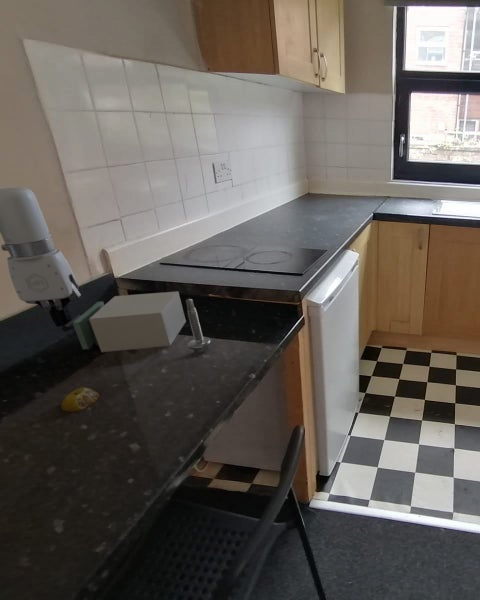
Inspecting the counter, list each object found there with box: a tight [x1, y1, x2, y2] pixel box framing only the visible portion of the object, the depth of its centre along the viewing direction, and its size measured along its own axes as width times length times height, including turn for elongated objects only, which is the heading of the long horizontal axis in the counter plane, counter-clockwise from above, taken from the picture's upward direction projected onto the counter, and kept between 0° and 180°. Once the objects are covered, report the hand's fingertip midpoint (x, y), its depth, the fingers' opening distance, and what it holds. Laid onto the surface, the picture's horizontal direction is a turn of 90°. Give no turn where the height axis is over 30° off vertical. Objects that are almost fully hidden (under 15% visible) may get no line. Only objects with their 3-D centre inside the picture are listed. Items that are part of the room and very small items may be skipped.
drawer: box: [61, 301, 105, 350], centre depth 95 cm, size 18×11×7 cm, turn 101°
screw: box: [185, 298, 212, 354], centre depth 89 cm, size 13×5×5 cm
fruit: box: [60, 386, 100, 412], centre depth 73 cm, size 8×8×4 cm
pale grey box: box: [89, 290, 187, 353], centre depth 96 cm, size 15×13×9 cm
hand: (64, 323), depth 94 cm, fingers closed
